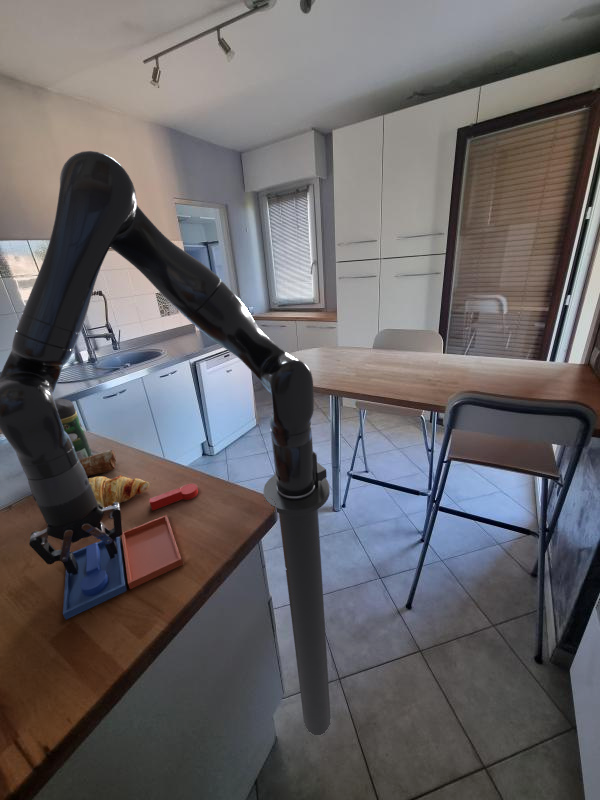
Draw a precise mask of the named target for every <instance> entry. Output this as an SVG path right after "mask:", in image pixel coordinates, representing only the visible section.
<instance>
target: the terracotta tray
mask: <svg viewBox="0 0 600 800" xmlns="http://www.w3.org/2000/svg"><path fill="white" fill-rule="evenodd" d="M121 543H122V551H123V558H124V562H125V565H124V566H125V571H126V572H125V573H126V579H127V580H126V581H127V585H128V587H129V589H130V590H132V589H134V588H136V587H138V586H141V585H142V584H144V583H147V582H149V581H151V580H154V579H155V578H157V577H160V576H161V575H163V574H166V573H168V572H170V571H172V570H174V569H176V568H179V567H180V566H182V565H183V563H184V562H183V560H182V557H181V553H180V550H179V548H178V545H177V542H176V538H175V535H174V533H173V529H172V527H171V522H170V520H169V518H168V515H167V514H165V515H162V516H159V517H157V518H155V519H152V520H150V521H147V522H145V523H142V524H139V525H138V526H135V527H133V528H130V529H127V530H125V531H122V535H121Z"/></svg>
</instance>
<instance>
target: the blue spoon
mask: <svg viewBox="0 0 600 800" xmlns="http://www.w3.org/2000/svg"><path fill="white" fill-rule="evenodd" d="M85 547H86V573H87V575H86V576H85V577H84V578H83V579H82V581H81V583H80V588H81V590H82V592H83V594H84V595H85V596H94V595H96V594H98V593H100V592H101V591H103V590H104V589H105V588H106V586H107V585H108V582H109V579H108V576H107V574H106V572H105V571H104V570H101V559H100V549H99V546H98V544H97V541H96V542H93V543H91V544H89V545H86V546H85Z"/></svg>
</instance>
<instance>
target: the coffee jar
mask: <svg viewBox="0 0 600 800" xmlns="http://www.w3.org/2000/svg"><path fill="white" fill-rule="evenodd" d="M54 401H55V404H56V408H57V411H58V414H59V417H60V419H61V422H62V425H63V428H64V431H65V432H66V433H67V434H68V436H69V438H70V439H71V442H72V444H73V446H74V449H75V451H76V454H77V457H78V459H79V460H80V459H83V458H86V457H89V456H92V455H93V452H92V449H91V446H90V444H89V442H88V439H87V436H86V434H85V431H84V428H83V426H82V423H81V420H80V418H79V416H78V413H77V410H76V408H75V405H74V402H72V400H70V399H66V398H62V397H61V398H57V399H54Z"/></svg>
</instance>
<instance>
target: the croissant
mask: <svg viewBox="0 0 600 800" xmlns="http://www.w3.org/2000/svg"><path fill="white" fill-rule="evenodd" d="M88 480H89V483H90V485H91V488H92V490H93V493H94V495H95V498H96V501H97V503H98V504H99V505H100V506H102V507H103V508H105V507H110V506H112V505H113V503H115V502H118V503H119V504H121V503H124V502H127V501H129V500H130V499H131V498H133V497H135V495H140V494H142V493H144V492H145V491H147V490H148V489H149V487H150V483H149V482H148V481H145V480H143V479H141V478H138V477H135V478H133V479H132V478H131V477H127V476H123V475H122V474H120V475H118V476H116V477H113V478H108V477H106V476H101V475H100V476H99V475H98V476H94V477H89V478H88Z"/></svg>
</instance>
